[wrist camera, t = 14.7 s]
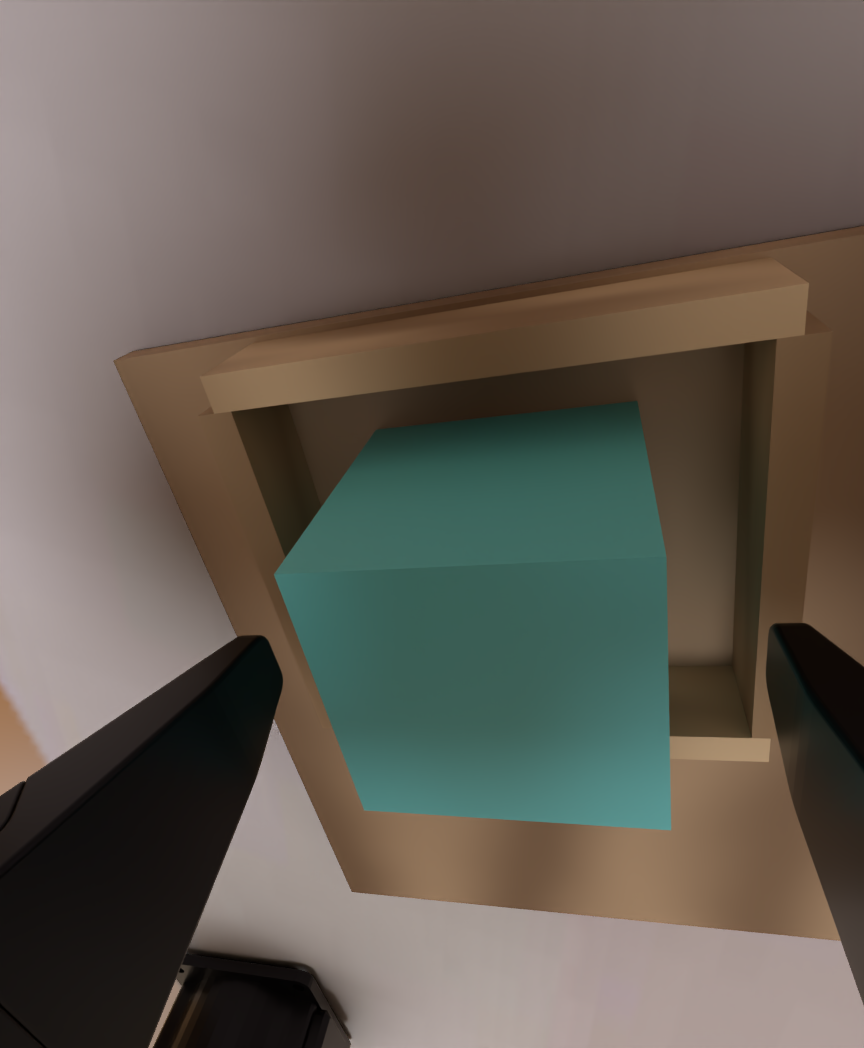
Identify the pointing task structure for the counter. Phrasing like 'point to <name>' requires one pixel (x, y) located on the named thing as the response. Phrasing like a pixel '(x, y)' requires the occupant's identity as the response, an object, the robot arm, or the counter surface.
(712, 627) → the board
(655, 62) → the counter surface
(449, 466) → the block
